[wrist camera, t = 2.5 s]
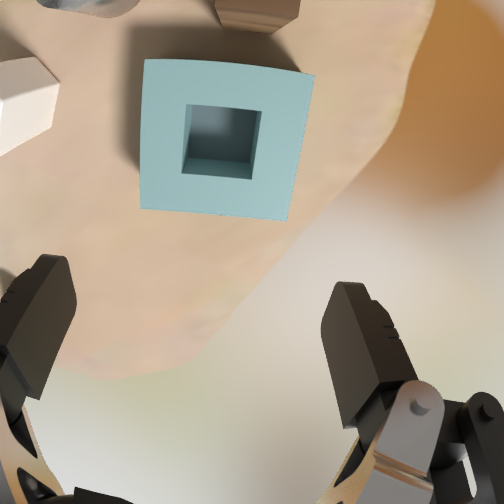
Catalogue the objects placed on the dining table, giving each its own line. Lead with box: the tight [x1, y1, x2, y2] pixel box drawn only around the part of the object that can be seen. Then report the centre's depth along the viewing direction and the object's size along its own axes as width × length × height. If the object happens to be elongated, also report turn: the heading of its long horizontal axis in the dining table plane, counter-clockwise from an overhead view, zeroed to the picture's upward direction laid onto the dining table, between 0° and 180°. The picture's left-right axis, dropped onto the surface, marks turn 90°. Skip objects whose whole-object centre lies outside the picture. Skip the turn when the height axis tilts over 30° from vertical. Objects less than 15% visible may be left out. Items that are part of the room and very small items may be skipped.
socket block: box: [140, 59, 315, 222], centre depth 25 cm, size 12×12×5 cm
